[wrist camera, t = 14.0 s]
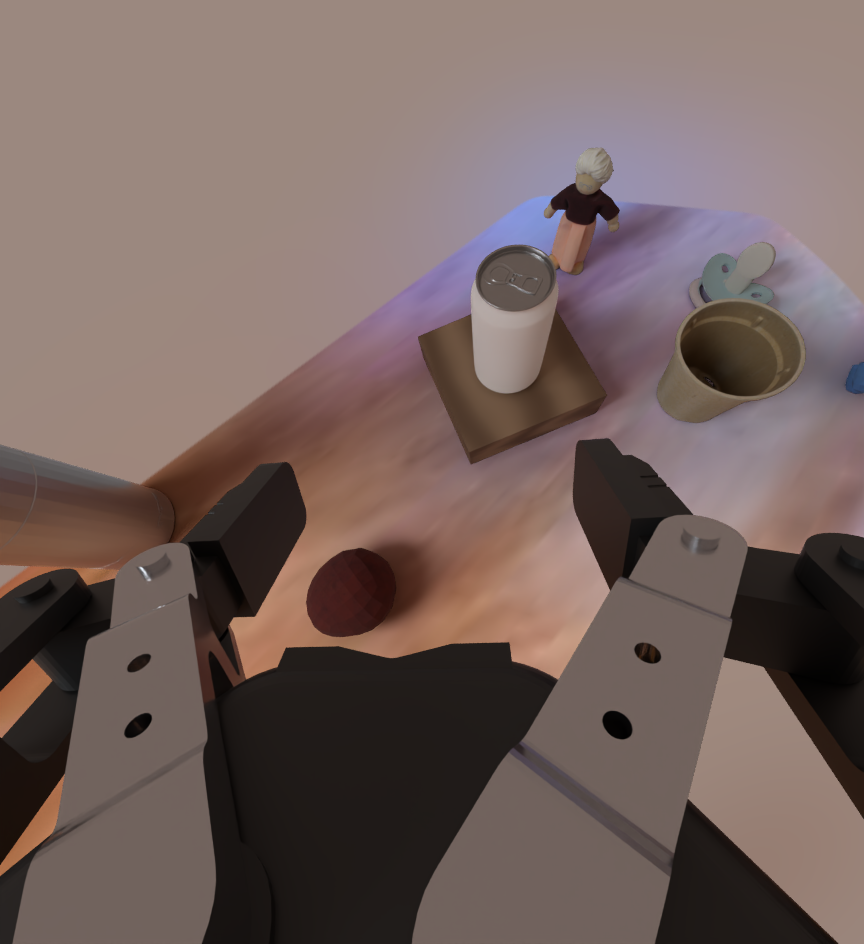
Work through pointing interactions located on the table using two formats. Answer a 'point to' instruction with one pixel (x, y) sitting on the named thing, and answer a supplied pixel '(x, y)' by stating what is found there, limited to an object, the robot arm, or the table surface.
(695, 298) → the pacifier
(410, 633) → the table surface
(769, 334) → the flower pot
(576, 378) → the walnut block
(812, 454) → the table surface
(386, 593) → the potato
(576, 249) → the grandmother figurine
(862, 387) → the grapes
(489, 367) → the can
